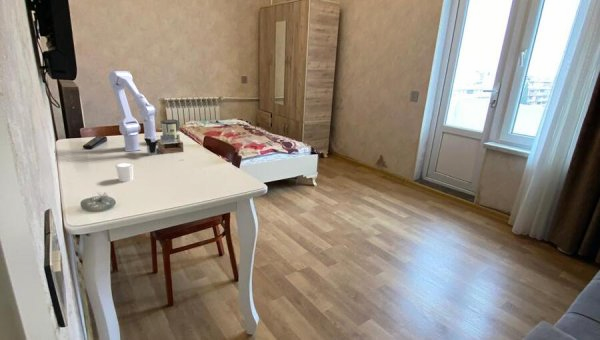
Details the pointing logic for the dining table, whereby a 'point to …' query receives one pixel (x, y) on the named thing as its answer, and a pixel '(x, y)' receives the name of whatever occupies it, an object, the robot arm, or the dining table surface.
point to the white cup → (125, 172)
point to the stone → (150, 152)
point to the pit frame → (170, 147)
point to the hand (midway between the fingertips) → (151, 151)
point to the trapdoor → (168, 139)
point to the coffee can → (170, 128)
